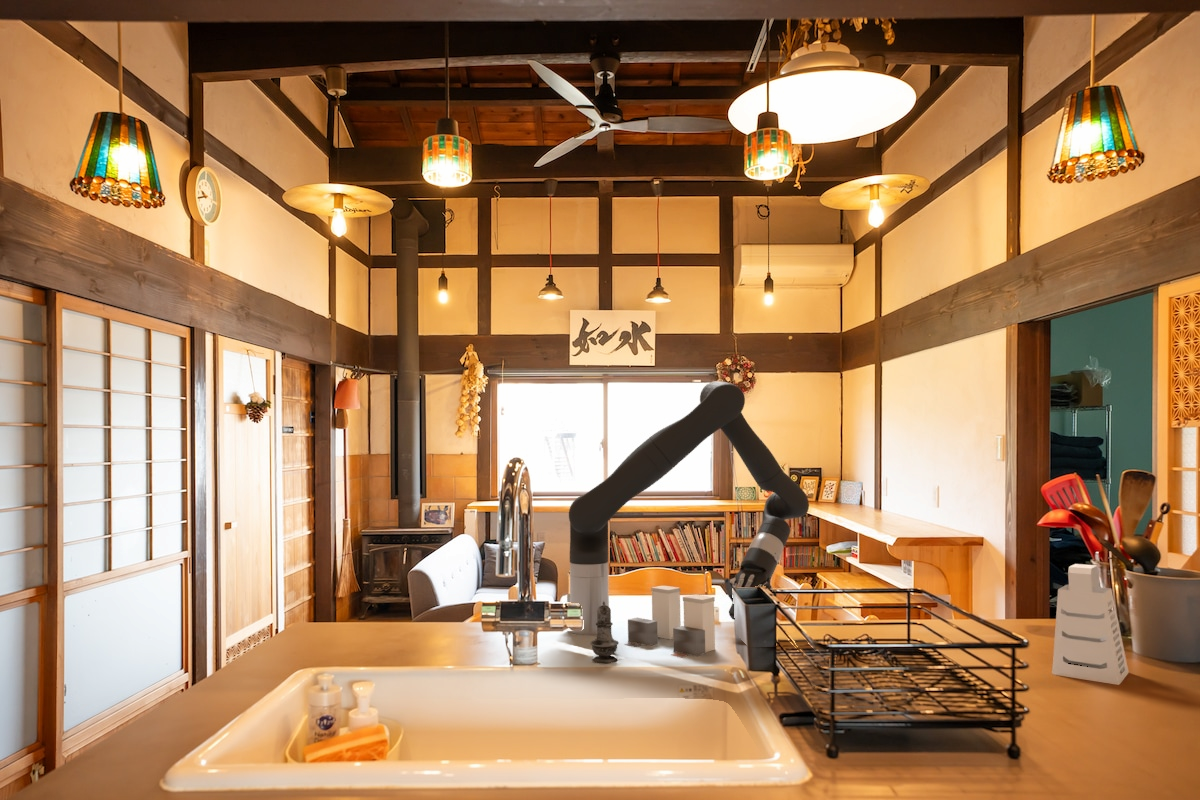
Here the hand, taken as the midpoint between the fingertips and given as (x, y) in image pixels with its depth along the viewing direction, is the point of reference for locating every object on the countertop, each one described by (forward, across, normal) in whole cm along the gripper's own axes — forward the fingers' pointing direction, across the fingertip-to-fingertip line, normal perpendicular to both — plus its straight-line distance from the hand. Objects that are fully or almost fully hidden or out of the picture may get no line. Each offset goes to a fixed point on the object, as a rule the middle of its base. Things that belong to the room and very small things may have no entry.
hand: (733, 617), depth 166 cm
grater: (-15, +62, +24) cm, 68 cm away
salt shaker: (+25, -12, -16) cm, 32 cm away
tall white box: (+12, 0, -6) cm, 13 cm away
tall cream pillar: (+9, -13, -2) cm, 16 cm away
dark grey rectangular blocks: (+12, -6, -4) cm, 14 cm away
